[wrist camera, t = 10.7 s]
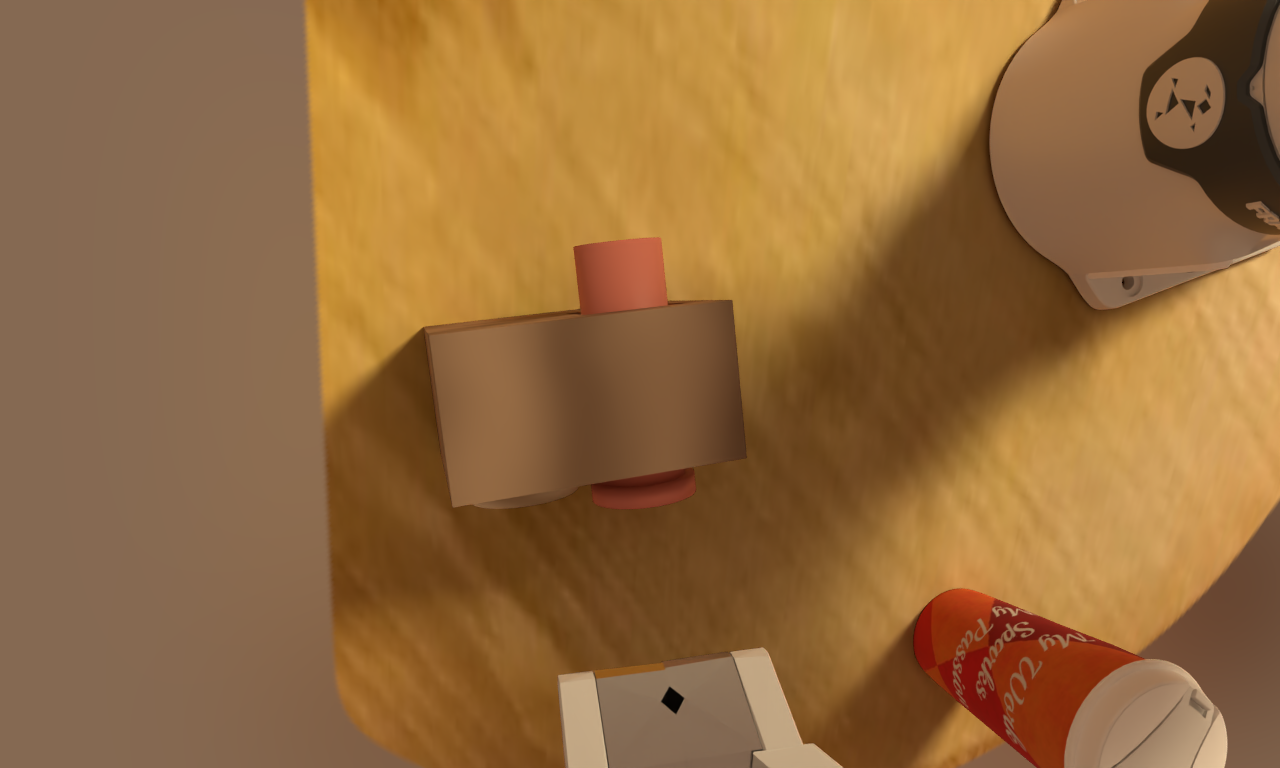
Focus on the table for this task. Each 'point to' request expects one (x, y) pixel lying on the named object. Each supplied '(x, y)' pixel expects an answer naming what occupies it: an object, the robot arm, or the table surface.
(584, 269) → the red plug
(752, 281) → the table surface
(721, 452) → the socket block
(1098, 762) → the paper cup
